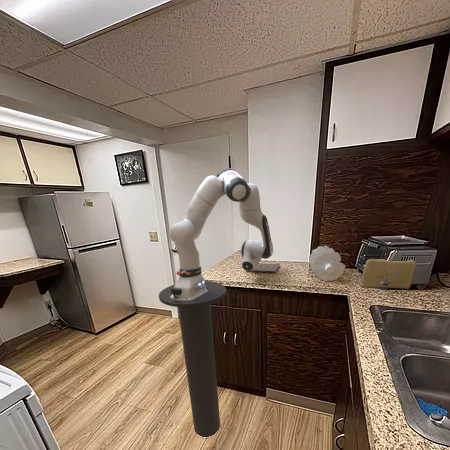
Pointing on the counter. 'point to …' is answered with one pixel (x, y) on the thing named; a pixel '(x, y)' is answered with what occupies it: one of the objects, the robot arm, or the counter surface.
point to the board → (265, 268)
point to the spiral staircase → (326, 263)
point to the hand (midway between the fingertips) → (260, 249)
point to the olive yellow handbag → (388, 273)
